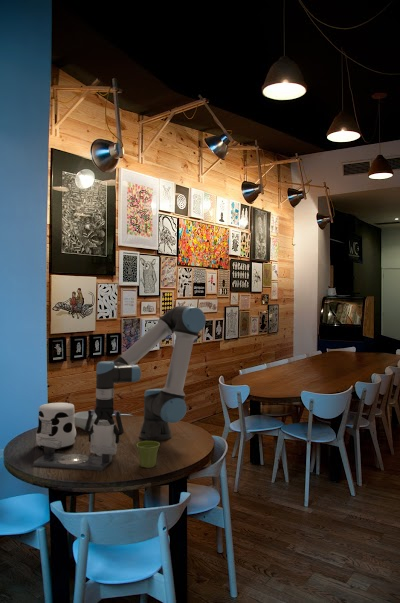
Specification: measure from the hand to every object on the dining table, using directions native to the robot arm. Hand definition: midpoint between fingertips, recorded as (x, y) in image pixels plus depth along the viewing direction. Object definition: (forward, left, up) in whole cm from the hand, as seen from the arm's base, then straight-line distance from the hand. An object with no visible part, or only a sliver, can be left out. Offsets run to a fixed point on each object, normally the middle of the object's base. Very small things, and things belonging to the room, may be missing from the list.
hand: (103, 450), depth 210 cm
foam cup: (0, 0, -2) cm, 2 cm away
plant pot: (-22, +11, -2) cm, 25 cm away
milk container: (+24, -6, -2) cm, 25 cm away
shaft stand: (+8, +14, -2) cm, 16 cm away
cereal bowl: (+20, -38, -2) cm, 43 cm away
